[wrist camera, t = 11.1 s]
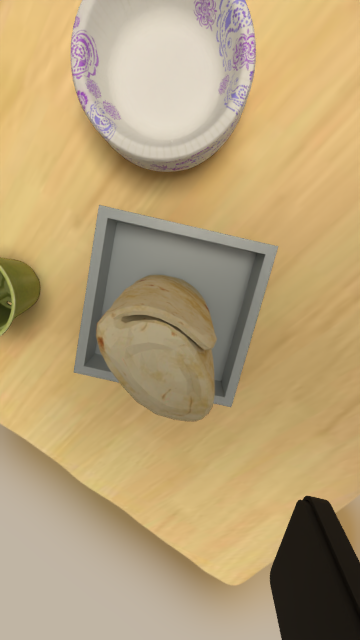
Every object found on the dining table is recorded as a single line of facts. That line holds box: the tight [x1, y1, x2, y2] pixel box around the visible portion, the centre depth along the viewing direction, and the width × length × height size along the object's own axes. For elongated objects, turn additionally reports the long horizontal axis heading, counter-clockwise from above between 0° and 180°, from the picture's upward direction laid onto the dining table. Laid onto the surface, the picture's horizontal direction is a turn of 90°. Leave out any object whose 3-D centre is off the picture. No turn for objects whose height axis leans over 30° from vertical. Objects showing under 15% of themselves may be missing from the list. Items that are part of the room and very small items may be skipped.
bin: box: [74, 205, 278, 407], centre depth 36 cm, size 18×18×5 cm
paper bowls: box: [71, 0, 256, 172], centre depth 29 cm, size 15×15×8 cm
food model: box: [96, 275, 217, 421], centre depth 27 cm, size 10×7×20 cm
